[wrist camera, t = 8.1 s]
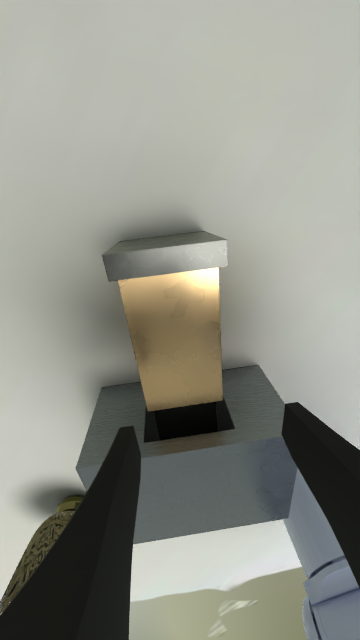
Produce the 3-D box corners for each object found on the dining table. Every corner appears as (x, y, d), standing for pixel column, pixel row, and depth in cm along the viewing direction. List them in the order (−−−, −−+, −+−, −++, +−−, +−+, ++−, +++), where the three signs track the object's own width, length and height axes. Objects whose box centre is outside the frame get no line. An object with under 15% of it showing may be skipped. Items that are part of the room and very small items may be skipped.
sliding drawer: (204, 231, 15) (227, 239, 10) (211, 356, 20) (229, 406, 15) (120, 241, 15) (102, 255, 10) (146, 366, 19) (142, 419, 14)
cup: (118, 511, 28) (104, 614, 21) (60, 525, 28) (27, 632, 21) (93, 476, 25) (67, 583, 18) (29, 492, 25) (-23, 605, 18)
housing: (258, 365, 20) (304, 432, 14) (254, 440, 25) (288, 518, 18) (101, 387, 20) (75, 468, 14) (125, 460, 24) (114, 547, 18)
